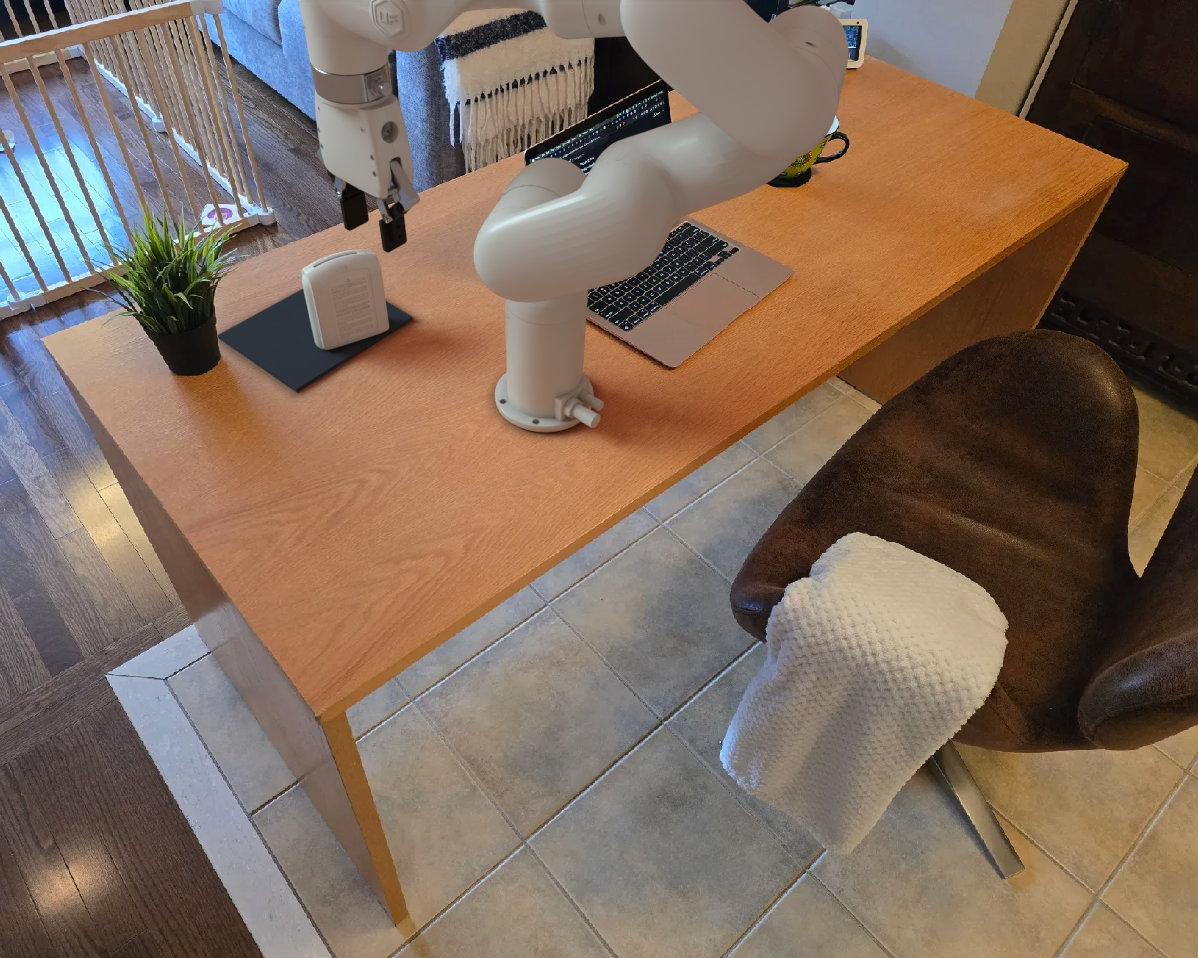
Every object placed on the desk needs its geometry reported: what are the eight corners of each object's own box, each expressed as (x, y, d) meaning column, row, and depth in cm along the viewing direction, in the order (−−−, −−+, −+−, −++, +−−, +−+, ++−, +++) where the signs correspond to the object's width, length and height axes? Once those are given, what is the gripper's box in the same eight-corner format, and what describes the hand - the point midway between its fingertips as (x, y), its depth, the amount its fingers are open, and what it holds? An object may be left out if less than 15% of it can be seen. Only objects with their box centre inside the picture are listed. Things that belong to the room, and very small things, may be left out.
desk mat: (413, 320, 121) (412, 316, 121) (296, 392, 110) (295, 389, 110) (336, 273, 127) (335, 270, 127) (218, 338, 116) (217, 334, 116)
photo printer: (381, 314, 121) (369, 236, 112) (395, 331, 118) (383, 253, 109) (310, 337, 117) (291, 258, 107) (322, 355, 114) (304, 276, 105)
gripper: (440, 94, 86) (452, 252, 99) (324, 41, 92) (350, 196, 106) (383, 119, 82) (404, 280, 95) (266, 62, 88) (301, 221, 102)
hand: (375, 234), depth 100 cm, fingers open, 5 cm apart
